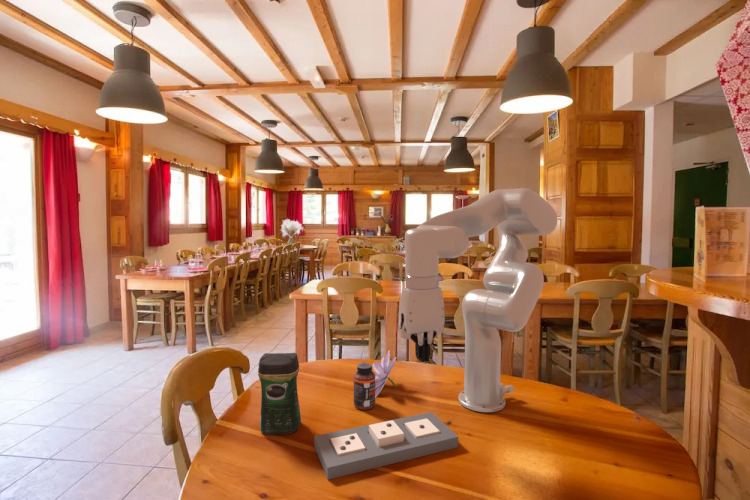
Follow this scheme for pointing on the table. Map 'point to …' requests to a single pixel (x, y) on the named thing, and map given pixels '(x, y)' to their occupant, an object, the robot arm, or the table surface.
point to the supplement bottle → (364, 387)
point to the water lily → (383, 372)
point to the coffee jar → (279, 393)
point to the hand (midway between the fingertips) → (422, 359)
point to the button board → (384, 454)
